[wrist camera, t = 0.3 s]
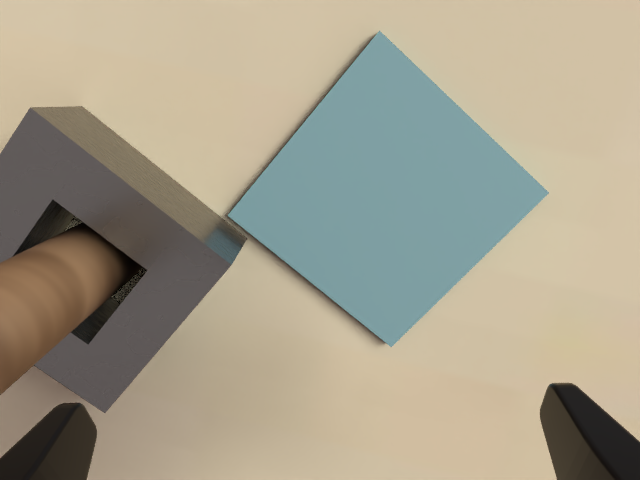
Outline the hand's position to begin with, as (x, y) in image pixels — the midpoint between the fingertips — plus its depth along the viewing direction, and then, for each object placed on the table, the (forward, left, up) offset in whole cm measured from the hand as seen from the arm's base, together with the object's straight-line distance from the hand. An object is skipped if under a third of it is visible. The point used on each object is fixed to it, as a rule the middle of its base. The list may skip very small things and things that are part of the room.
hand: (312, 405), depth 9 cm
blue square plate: (+3, -2, -15) cm, 15 cm away
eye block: (-8, +7, -15) cm, 19 cm away
